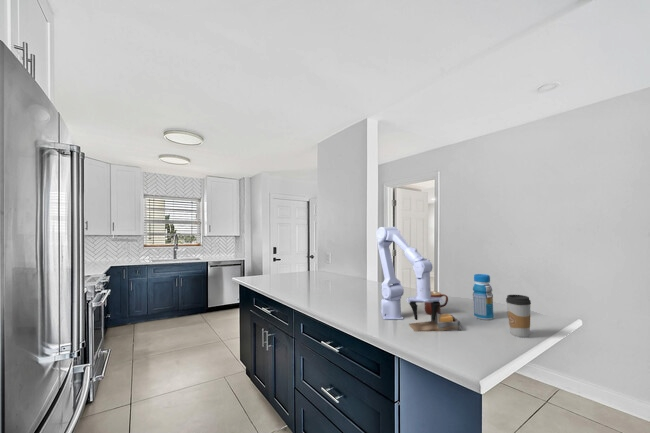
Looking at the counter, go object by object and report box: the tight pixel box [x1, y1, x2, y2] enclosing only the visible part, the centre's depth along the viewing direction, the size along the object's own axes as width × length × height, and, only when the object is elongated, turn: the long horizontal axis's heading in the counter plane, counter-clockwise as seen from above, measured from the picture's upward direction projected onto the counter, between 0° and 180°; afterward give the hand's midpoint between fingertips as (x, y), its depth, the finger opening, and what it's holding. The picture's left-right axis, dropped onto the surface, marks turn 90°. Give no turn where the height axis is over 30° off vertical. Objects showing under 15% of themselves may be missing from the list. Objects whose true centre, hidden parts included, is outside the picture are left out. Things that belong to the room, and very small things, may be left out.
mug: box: [424, 290, 449, 316], centre depth 148 cm, size 12×9×10 cm
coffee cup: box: [505, 294, 532, 339], centre depth 117 cm, size 8×8×15 cm
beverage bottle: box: [472, 273, 495, 321], centre depth 140 cm, size 8×8×20 cm
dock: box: [408, 314, 461, 333], centre depth 128 cm, size 19×10×5 cm, turn 87°
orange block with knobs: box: [435, 313, 454, 323], centre depth 128 cm, size 6×6×5 cm
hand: (424, 319), depth 128 cm, fingers open, 7 cm apart
